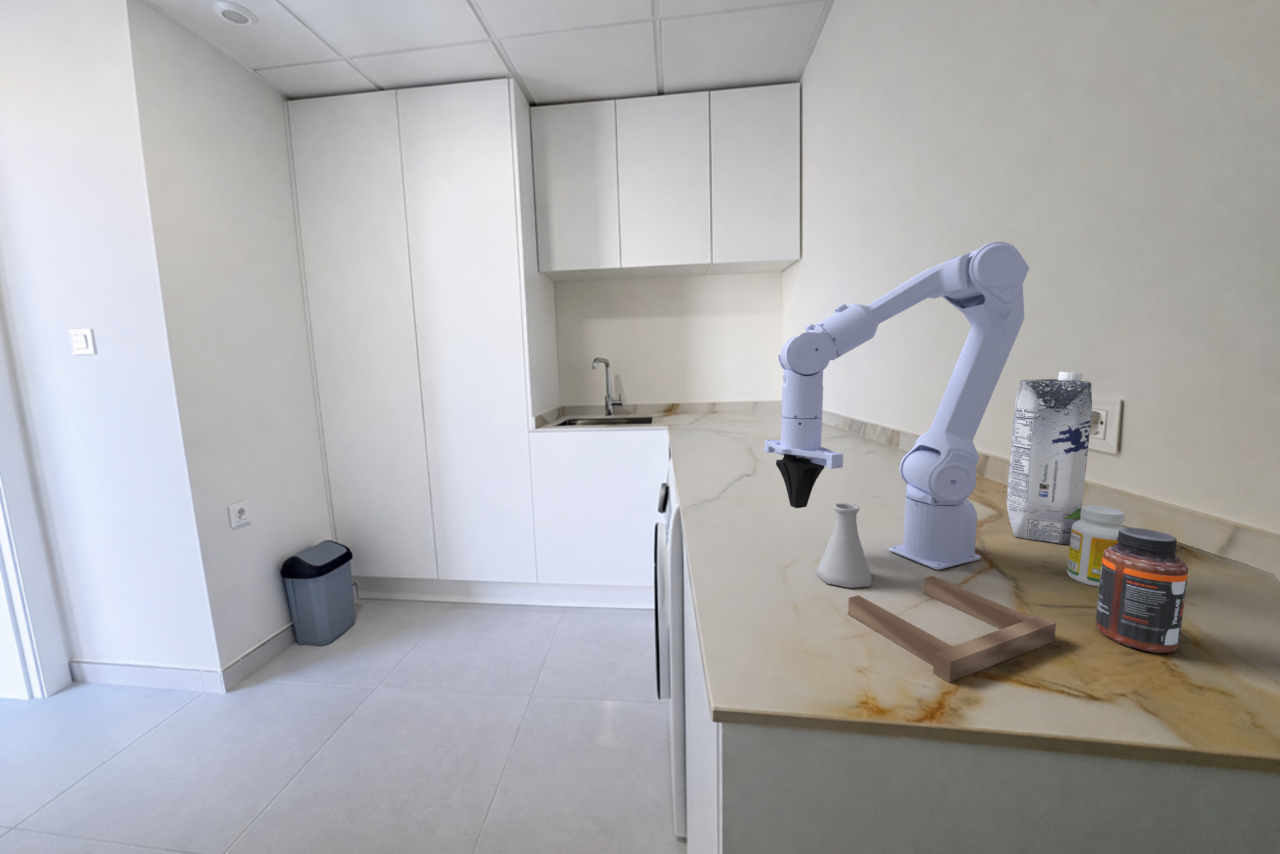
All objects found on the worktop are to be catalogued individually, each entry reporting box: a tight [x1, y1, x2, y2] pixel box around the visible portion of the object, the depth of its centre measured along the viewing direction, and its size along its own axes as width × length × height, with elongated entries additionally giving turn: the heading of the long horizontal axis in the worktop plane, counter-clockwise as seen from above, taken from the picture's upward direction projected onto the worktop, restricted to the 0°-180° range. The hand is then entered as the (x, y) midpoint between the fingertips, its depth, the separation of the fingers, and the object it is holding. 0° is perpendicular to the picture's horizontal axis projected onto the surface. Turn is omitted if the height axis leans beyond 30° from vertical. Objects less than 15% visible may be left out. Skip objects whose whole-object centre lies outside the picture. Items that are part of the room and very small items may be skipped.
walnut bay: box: [847, 575, 1057, 683], centre depth 51 cm, size 16×12×2 cm
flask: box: [815, 502, 873, 589], centre depth 63 cm, size 7×7×10 cm
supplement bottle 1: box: [1066, 504, 1125, 588], centre depth 61 cm, size 5×5×10 cm
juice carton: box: [1006, 371, 1093, 546], centre depth 77 cm, size 9×10×27 cm
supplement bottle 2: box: [1095, 527, 1189, 654], centre depth 48 cm, size 6×6×11 cm
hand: (798, 506), depth 71 cm, fingers closed
